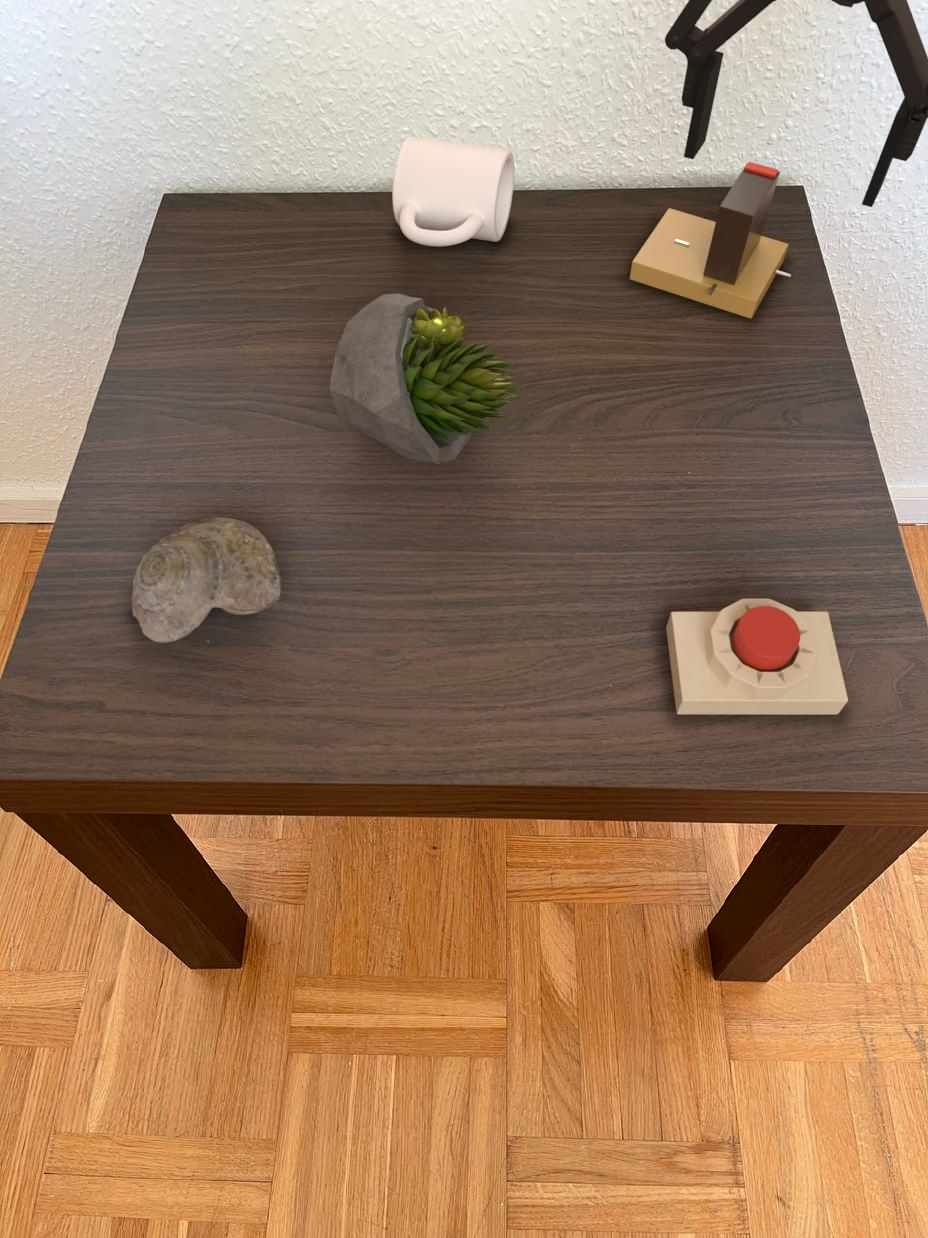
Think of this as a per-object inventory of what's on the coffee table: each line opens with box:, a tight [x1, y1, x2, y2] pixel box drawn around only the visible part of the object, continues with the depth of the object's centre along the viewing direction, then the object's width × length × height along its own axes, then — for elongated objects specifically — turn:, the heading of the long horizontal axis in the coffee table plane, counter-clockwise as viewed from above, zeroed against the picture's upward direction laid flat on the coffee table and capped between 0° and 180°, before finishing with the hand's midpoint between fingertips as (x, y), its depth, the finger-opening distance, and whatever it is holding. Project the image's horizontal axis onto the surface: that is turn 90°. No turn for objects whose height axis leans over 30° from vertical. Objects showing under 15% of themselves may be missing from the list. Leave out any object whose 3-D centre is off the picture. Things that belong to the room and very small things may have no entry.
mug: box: [391, 135, 515, 247], centre depth 86 cm, size 12×10×8 cm
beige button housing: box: [665, 598, 849, 716], centre depth 63 cm, size 11×7×4 cm, turn 89°
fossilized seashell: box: [131, 516, 283, 644], centre depth 66 cm, size 11×11×7 cm
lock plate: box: [629, 207, 792, 320], centre depth 85 cm, size 14×11×2 cm
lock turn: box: [703, 161, 781, 285], centre depth 81 cm, size 7×3×7 cm, turn 152°
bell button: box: [733, 606, 800, 670], centre depth 60 cm, size 4×4×2 cm
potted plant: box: [328, 293, 522, 464], centre depth 72 cm, size 12×13×15 cm
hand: (780, 172), depth 68 cm, fingers open, 13 cm apart
